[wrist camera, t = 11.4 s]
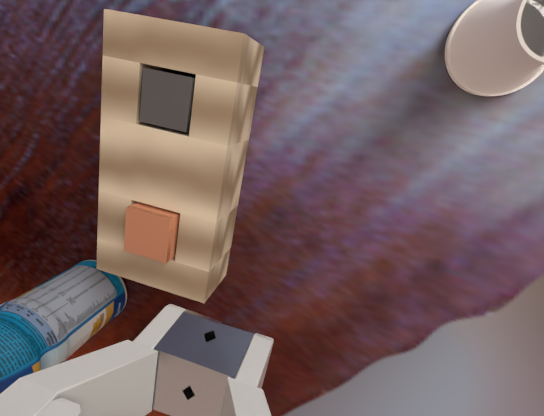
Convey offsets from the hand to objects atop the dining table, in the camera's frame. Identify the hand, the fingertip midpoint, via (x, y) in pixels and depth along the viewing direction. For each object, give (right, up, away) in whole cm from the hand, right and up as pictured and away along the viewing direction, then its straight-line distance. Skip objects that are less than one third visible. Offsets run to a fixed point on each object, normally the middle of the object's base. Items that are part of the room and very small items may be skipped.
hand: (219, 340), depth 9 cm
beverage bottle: (-20, -6, +34) cm, 41 cm away
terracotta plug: (-9, +3, +27) cm, 29 cm away
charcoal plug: (-6, +14, +24) cm, 29 cm away
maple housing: (-7, +9, +27) cm, 29 cm away
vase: (+19, +16, +18) cm, 31 cm away
